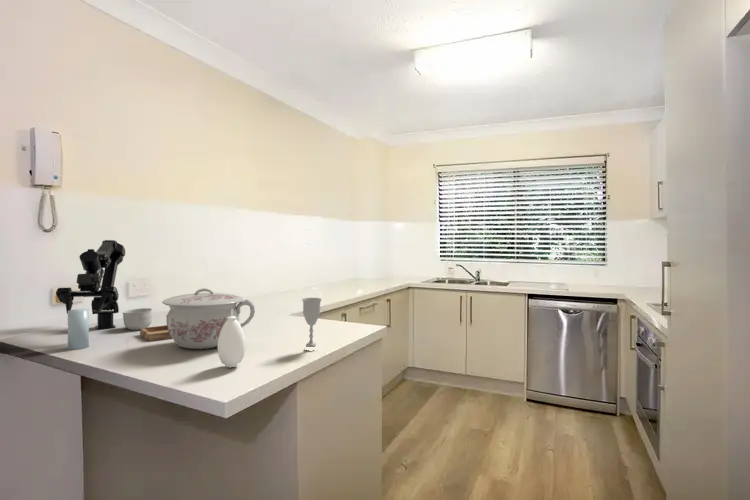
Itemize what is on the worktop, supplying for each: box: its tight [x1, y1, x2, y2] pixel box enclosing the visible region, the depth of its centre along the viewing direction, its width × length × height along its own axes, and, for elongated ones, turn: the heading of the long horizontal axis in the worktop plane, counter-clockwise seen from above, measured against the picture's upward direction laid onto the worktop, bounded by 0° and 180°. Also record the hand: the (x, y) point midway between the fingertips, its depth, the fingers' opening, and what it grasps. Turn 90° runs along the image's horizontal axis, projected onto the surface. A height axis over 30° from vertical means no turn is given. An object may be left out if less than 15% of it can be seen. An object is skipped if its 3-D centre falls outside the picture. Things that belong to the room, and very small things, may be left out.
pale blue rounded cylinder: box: [67, 308, 90, 351], centre depth 145 cm, size 6×6×13 cm
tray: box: [139, 324, 173, 343], centre depth 164 cm, size 14×12×3 cm
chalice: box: [301, 297, 323, 347], centre depth 148 cm, size 7×7×18 cm
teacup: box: [122, 307, 153, 331], centre depth 178 cm, size 14×11×8 cm
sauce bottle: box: [217, 309, 246, 368], centre depth 127 cm, size 8×8×18 cm
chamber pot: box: [161, 287, 256, 351], centre depth 152 cm, size 28×28×21 cm
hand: (82, 312), depth 150 cm, fingers open, 9 cm apart
